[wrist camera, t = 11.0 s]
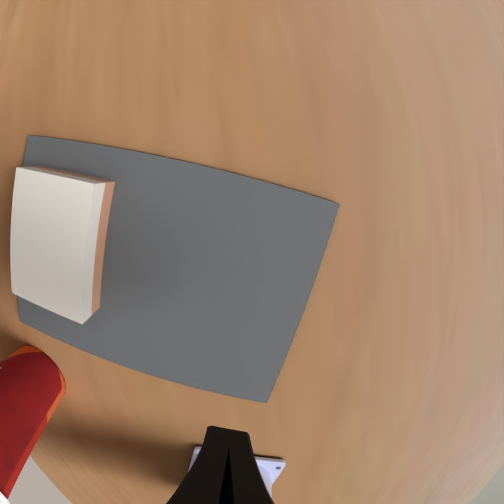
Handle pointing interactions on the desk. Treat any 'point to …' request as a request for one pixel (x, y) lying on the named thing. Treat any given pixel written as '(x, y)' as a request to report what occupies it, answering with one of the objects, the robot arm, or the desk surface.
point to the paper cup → (24, 409)
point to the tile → (59, 239)
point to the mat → (192, 269)
